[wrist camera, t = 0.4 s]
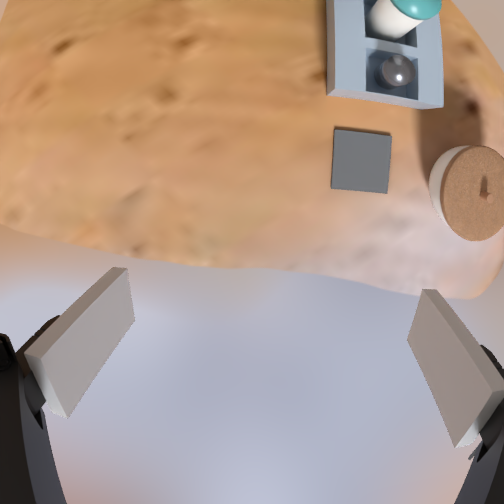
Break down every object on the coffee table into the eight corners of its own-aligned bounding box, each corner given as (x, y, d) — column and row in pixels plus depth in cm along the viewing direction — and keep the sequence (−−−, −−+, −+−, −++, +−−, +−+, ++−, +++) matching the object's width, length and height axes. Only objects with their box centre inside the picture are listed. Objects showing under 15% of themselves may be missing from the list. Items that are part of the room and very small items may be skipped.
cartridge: (360, 7, 26) (387, -35, 16) (399, 14, 26) (437, -20, 15) (361, 42, 28) (392, 9, 17) (401, 49, 27) (444, 23, 17)
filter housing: (326, 95, 33) (335, 88, 27) (324, -31, 26) (330, -53, 21) (421, 109, 32) (443, 107, 26) (414, -13, 25) (431, -31, 20)
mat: (334, 129, 34) (334, 129, 34) (390, 136, 33) (391, 136, 33) (330, 188, 36) (331, 188, 36) (386, 193, 36) (387, 193, 36)
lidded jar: (483, 147, 32) (526, 154, 23) (477, 223, 36) (515, 247, 27) (417, 137, 33) (454, 140, 24) (412, 221, 37) (444, 246, 28)
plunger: (373, 61, 27) (386, 52, 23) (399, 66, 27) (415, 58, 23) (373, 87, 28) (386, 81, 24) (399, 91, 28) (415, 86, 24)
